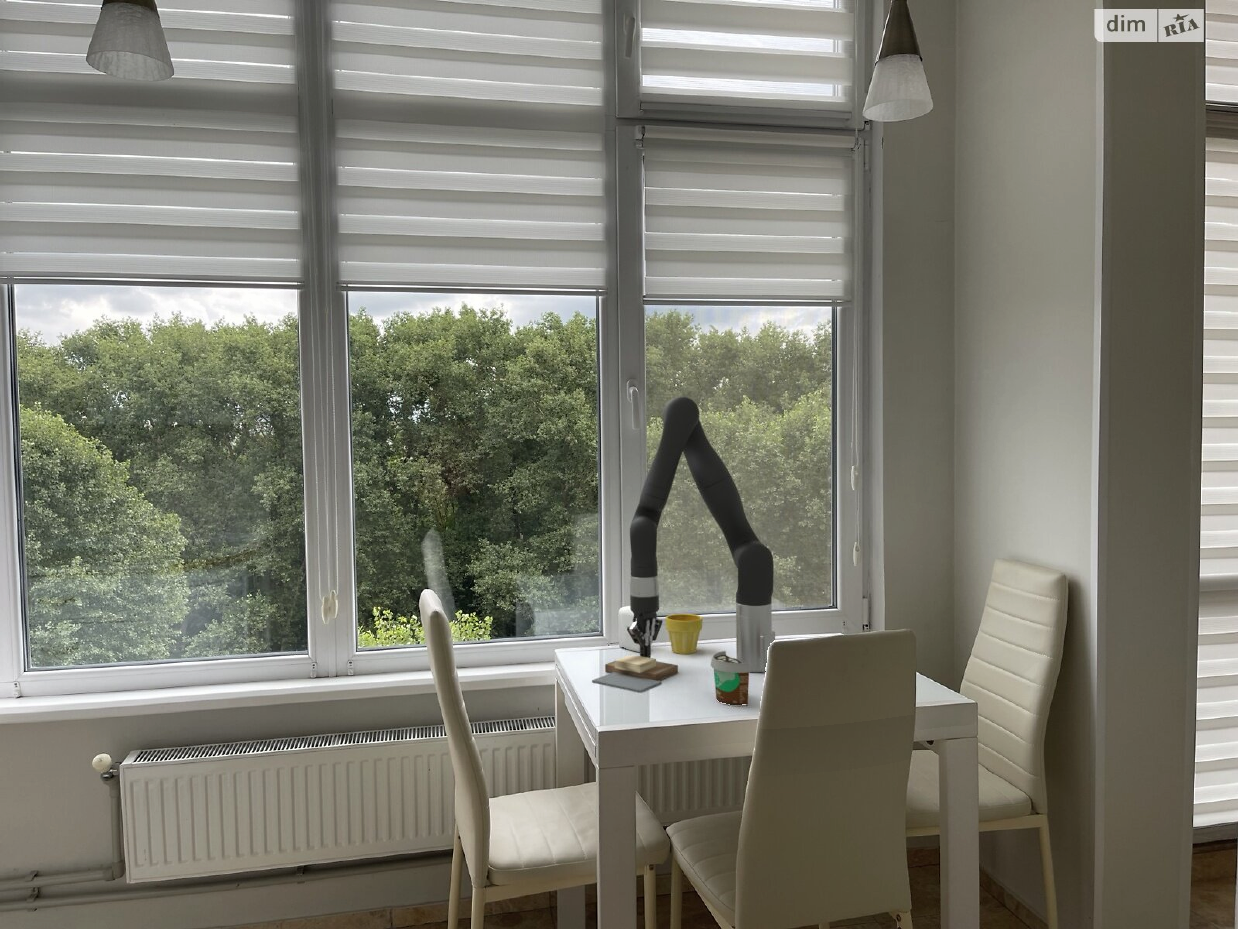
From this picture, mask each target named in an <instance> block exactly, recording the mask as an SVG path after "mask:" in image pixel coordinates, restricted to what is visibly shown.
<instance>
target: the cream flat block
mask: <svg viewBox="0 0 1238 929" xmlns="http://www.w3.org/2000/svg"><path fill="white" fill-rule="evenodd" d="M614 661H615V668H617V669H622V670H627V671H633V672H638V673H641V672H644V671H646V670H649V669H651V668H654V667H656V661H657V658H654V657H653V658H652V657H651V658H648V657H643V656H640V655H635V654H628V655H625V656H623V657H620V658H617V659H615V660H614Z"/></svg>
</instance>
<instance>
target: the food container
mask: <svg viewBox="0 0 1238 929" xmlns="http://www.w3.org/2000/svg"><path fill="white" fill-rule="evenodd" d="M710 667H711V668H712V669H713V677H714V689H715V690H714V691H715V700H716V699H717V700H718V701H719V702H722V703H726V704H730V705H742V704H748V705H749V702H748V701H749V682H750V673H752V672H751V671H750V666H749V663H741V662H740V661H739V660H737V658H735V657H730V656H728V655H727V651H726V650H724V651H719V652H716V653H714V654H713V655H712V657H711V660H710ZM717 700H716V701H717ZM718 701H717V702H718ZM719 702H718V703H719ZM730 705H729V706H730Z"/></svg>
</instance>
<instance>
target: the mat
mask: <svg viewBox="0 0 1238 929" xmlns="http://www.w3.org/2000/svg"><path fill="white" fill-rule="evenodd" d="M591 682H592V683H593V684H599V685H603V686H609V687H612V688H617V689H622V688H623V690H625V691H626V690H627V691H632V692H636V691H637V692H636V693H640V694H641V693H643V692H645V691H647V690H650V689H652V688H655V687H657V686H659V685H662V684H663V682H662V681H661V680H659V681H656V680H651V679H646V678H641V677H636V676H631V675H626V674H621V673H616V672H613V673H607V674H605V675H603V676H600V677H597V678H594V679H592V680H591ZM642 691H643V692H642Z"/></svg>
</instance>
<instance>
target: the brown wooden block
mask: <svg viewBox="0 0 1238 929" xmlns="http://www.w3.org/2000/svg"><path fill="white" fill-rule="evenodd" d="M604 668H605V669H604V670H605V671H604V672H605V673H607V674H610V673H613V672H616V673H621V674H626V675H631V676H636V677H641V678H646V679H651V680H656V681H661V680H664V679H666V678H669V677H671V676H673V675H676V674H678V673H679V665H678V664H674V663H669V662H664V661H657V660H656V667H654V668H651V669H649V670H646V671H644V672H641V673H638V672H633V671H627V670H622V669H617V668H615V660H614V661H610V662H608V663H606V664H605V665H604Z"/></svg>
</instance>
